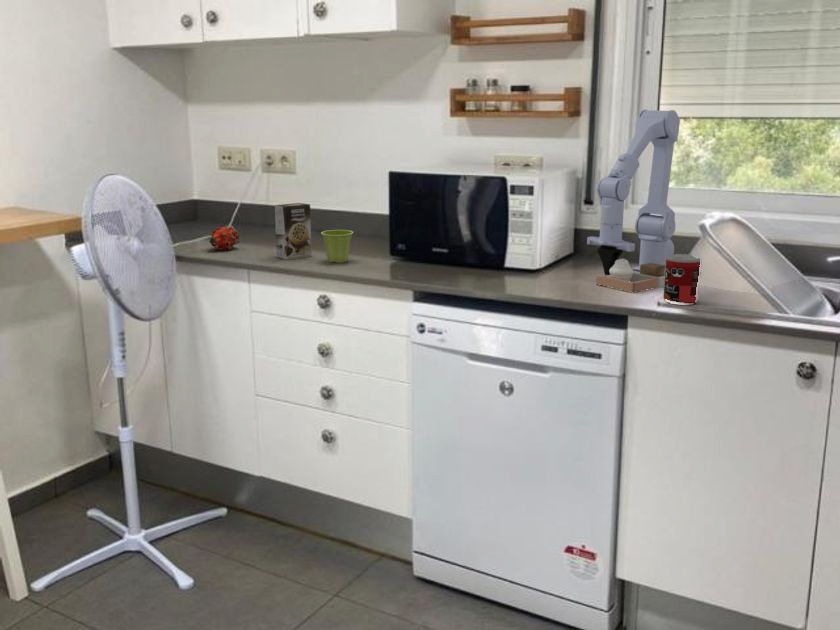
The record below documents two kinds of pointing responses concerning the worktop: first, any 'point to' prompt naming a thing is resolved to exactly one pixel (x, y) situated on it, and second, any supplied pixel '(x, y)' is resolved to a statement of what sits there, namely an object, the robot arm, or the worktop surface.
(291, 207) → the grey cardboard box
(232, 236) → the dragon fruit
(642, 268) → the walnut block
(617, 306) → the worktop surface
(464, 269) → the worktop surface
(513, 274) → the worktop surface
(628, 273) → the muffin
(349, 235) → the plant pot
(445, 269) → the worktop surface
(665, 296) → the canned food
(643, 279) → the tray
